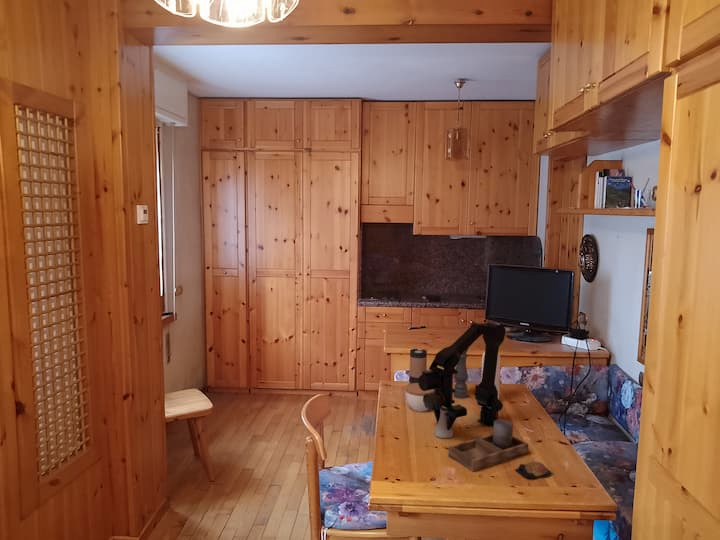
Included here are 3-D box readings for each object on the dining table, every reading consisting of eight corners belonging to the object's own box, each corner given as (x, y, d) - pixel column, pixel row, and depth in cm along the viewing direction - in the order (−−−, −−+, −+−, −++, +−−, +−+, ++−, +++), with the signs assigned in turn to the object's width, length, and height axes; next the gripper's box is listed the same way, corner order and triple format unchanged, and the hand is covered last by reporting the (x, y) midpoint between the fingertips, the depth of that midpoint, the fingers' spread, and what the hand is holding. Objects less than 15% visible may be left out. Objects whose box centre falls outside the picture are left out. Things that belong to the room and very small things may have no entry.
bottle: (477, 401, 224) (479, 334, 221) (484, 396, 230) (486, 331, 227) (495, 405, 219) (497, 337, 216) (501, 400, 226) (504, 333, 222)
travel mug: (415, 397, 228) (416, 353, 226) (405, 392, 235) (406, 349, 233) (429, 395, 232) (430, 351, 230) (419, 389, 239) (420, 347, 236)
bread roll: (537, 465, 169) (537, 454, 169) (556, 477, 161) (557, 465, 161) (511, 470, 165) (512, 459, 165) (529, 483, 157) (530, 471, 157)
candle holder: (451, 393, 234) (453, 340, 231) (465, 393, 234) (466, 339, 231) (455, 398, 227) (457, 343, 225) (469, 398, 228) (471, 343, 225)
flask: (453, 440, 186) (454, 413, 185) (433, 438, 187) (433, 411, 186) (453, 431, 193) (454, 406, 192) (434, 430, 194) (434, 404, 193)
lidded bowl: (439, 407, 217) (440, 381, 216) (427, 416, 207) (427, 390, 206) (413, 401, 224) (413, 376, 223) (399, 410, 214) (400, 384, 212)
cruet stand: (501, 440, 186) (502, 413, 185) (527, 453, 176) (529, 425, 175) (448, 456, 173) (449, 427, 172) (473, 471, 163) (474, 441, 162)
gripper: (412, 382, 192) (411, 422, 194) (444, 398, 176) (443, 441, 178) (435, 377, 198) (434, 416, 199) (468, 392, 182) (467, 434, 183)
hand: (443, 427), depth 190 cm, fingers closed on flask, 5 cm apart
